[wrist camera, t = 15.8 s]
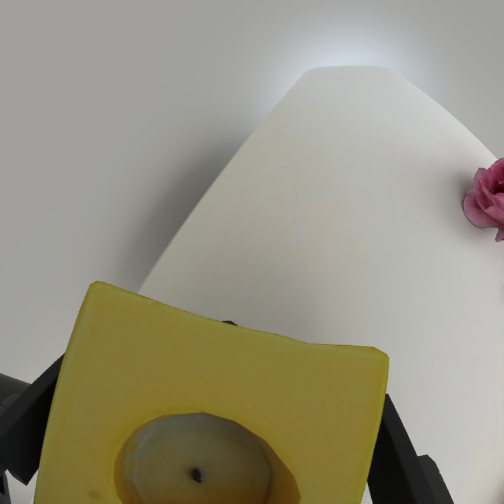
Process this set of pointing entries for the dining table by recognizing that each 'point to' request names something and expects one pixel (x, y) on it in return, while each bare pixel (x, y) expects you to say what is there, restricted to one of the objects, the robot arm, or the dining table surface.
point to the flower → (487, 199)
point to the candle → (205, 411)
